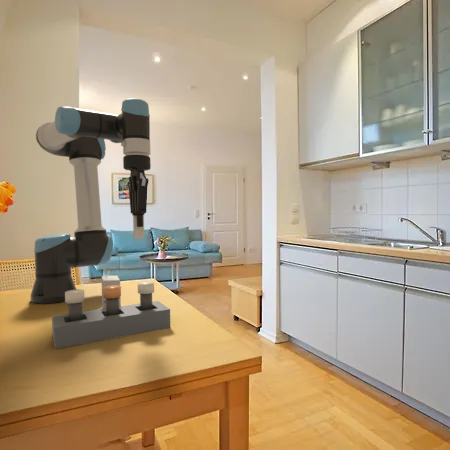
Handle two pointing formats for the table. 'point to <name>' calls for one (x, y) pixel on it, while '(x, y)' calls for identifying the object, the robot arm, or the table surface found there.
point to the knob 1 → (74, 304)
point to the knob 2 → (145, 295)
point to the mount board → (108, 324)
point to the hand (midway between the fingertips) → (139, 238)
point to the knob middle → (112, 299)
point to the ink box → (109, 282)
